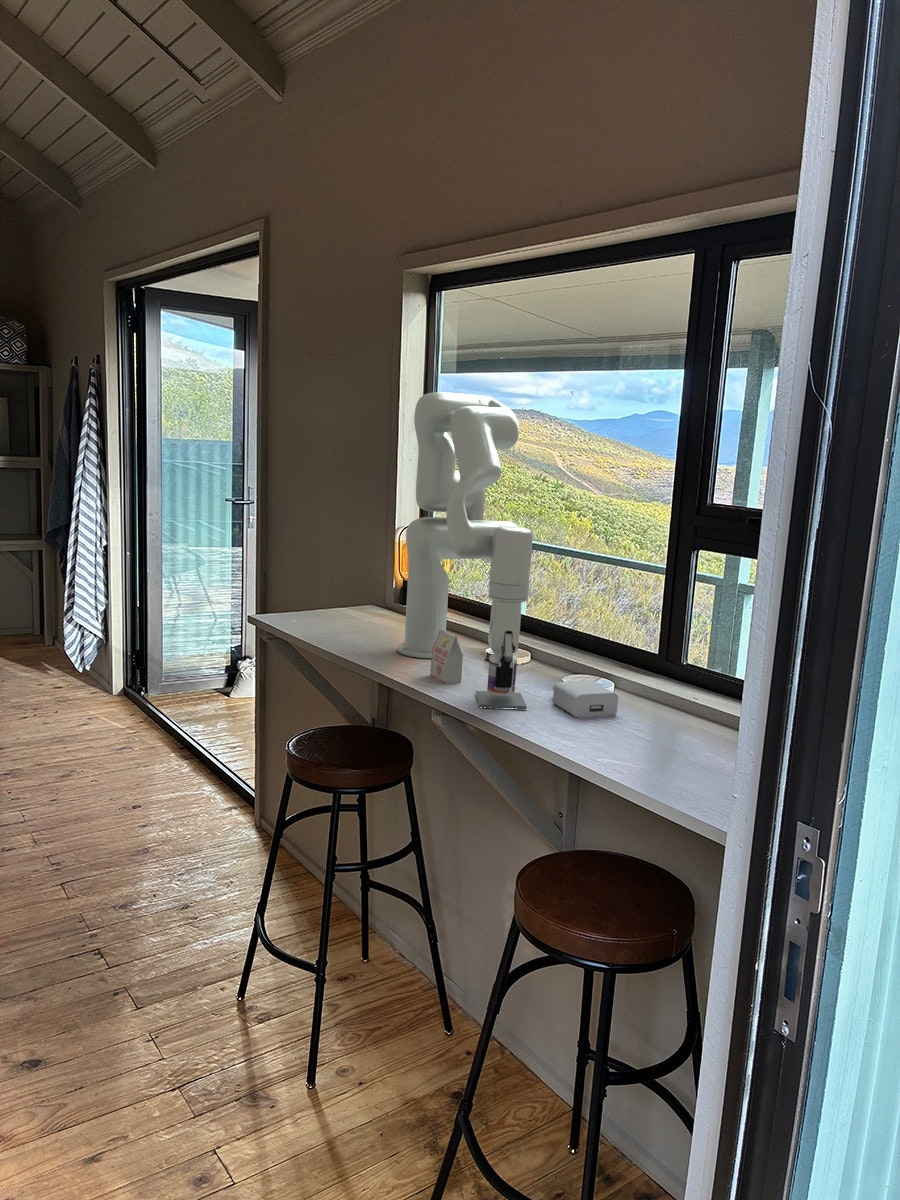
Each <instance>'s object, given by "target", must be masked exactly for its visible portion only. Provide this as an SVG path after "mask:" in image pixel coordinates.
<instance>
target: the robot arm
mask: <svg viewBox="0 0 900 1200" xmlns="http://www.w3.org/2000/svg"><path fill="white" fill-rule="evenodd" d="M414 409H415V410H414V416H413V417H414V419H413V421H414V423H413V424H414V430H415V435H416V440H417V446H418V447H417V448H418V455H417V456H418V457H417V465H416V466H417V467H416V483H415V501H416V504H417V506H418V507H419V508H420V509H422V510H423V511H427V512H434V513H446V515H445V517H436V516H435V517H432V516H431V517H430V516H426V517H419V518H416V519H413V520H412V521H411V522H410V523H409V524H408V526H407V528H406V531H405V545H406V552H407V587H406V588H407V591H406V605H405V606H406V607H405V626H404V641H403V642H402V643H399V644H398V645H397V652H399V654H401V655H402V656H403V655H404V656H407V657H412V658H420V659H431V658H432V648H433V646H434V643H435V641H436V639H437V637H438V634H439V631H440V630H441V629H442V630H444V631H446V632H447V618H448V616H447V615H448V604H449V603H448V602H449V601H448V600H449V599H448V598H449V587H450V586H449V583H450V580H449V575H448V573H447V571H446V570H445V568H444V567H443V565H442V563H441V561H442V560H465V559H466V560H491V561H490V568H489V569H490V571H489V584H488V586H489V587H488V599H490V600H491V601H492V602H491V608H490V609H491V610H490V617H489V619H490V621H489V626H488V635H487V636H488V638H487V642H488V645H489V647H490V650H491V651H492V652H493V654H494V653H495V652H496V650H498V666H496V675H495V687H500V688H511V687H512V676H513V655H514V654H515V653H517V652H518V648H519V640H520V632H521V631H520V630H521V617H522V603H525V602H528V597H529V587H530V586H529V585H530V573H531V564H532V563H531V562H532V551H533V550H532V549H533V533H532V531H531V530H530V529H528V528H526V527H523V526H519V525H518V524H517V523H515V522H512V521H506V520H484V516H485V515H484V514H485V513H484V512H485V503H486V502H485V501H486V490H485V489H488V488H489V487H491V486H493V485H494V484H495V483H497V482H498V481H499V480H500V479H501V476H502V467H501V463H500V457H499V453H498V449H500V450H502V449H503V450H507V449H511V448H512V447H514V446H515V445H516V443H517V442H518V439H519V433H520V426H519V421H518V419H517V416H516V415H515V413H514V412H513V410H512V409H510V408H509V407H508V406H506V405H505V404H503V403H501V402H500V401H498V400H496V399H495V398H493V397H490V396H487V395H481V394H480V395H479V394H468V393H467V394H466V393H465V394H464V393H456V392H443V391H441V392H440V391H439V392H438V391H436V392H428V393H425V394H423V395H422V396H421V397H420V398H419V399H418V401H417V402H416V406H415V408H414ZM449 434H451V436H450V435H449ZM456 465H457V468H458V469H457V470H456ZM513 645H514V646H513ZM501 648H505V651H501ZM502 654H503V655H504V656H502Z"/></svg>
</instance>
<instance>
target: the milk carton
mask: <svg viewBox="0 0 900 1200" xmlns="http://www.w3.org/2000/svg"><path fill="white" fill-rule="evenodd" d="M430 660H431V662H430V663H431V664H430V676H431V677H432V678H434V679H436V680H437V681H439V682H441V683H443V684H445V685H450V684H461V683H462V674H463V673H462V672H463V661H464V654H463V653H462V649H461V646H460V643H459V640H458V636H456V635H454V634H452V633H450V632H448V631H447V630H446V631H444V630H442V629H441V630H440V631H439V634H438V637H437V639H436V641H435V643H434V646H433V648H432V658H430Z"/></svg>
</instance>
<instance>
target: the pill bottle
mask: <svg viewBox="0 0 900 1200" xmlns="http://www.w3.org/2000/svg"><path fill="white" fill-rule="evenodd" d="M513 646H514V645H513ZM501 651H505V648H501ZM502 656H504V655H503V654H502ZM517 665H518V659H517V657H516V656H515V655H514V654H513V676H512V687H511V688H500V687H495V675H496V666H498V650H496V652H495V653H494V652H493V653H492V654H491V655H490V656H489V659H488V676H487V690H486V691H488V693H489V694H492V695H495V696H501V697H506V696H511V695H513V694H514V692H516V691H515V689H516V680H517V667H518V666H517Z"/></svg>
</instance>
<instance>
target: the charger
mask: <svg viewBox="0 0 900 1200" xmlns="http://www.w3.org/2000/svg"><path fill="white" fill-rule="evenodd" d="M551 689H552V690H553V695H552V704H554V703H555V704H554V705H556V706H557V705H558V707H559V708H561V709H562V710H564V711H565V710H566V711H565V712H567V713H568V712H569V713H568V714H570V715H572V716H573V717H575V718H576V717H584V718H594V717H593V716H599V717H609V716H608V715H613V716H615V715H616V714H617V712H618V705H619V695H618V694H617V693H616V692H614V691H612V690H611V689H609V688H607V687H605V686H602V685H601V684H598V683H597V682H595V681H593V680H586V679H585V680H573V681H572V680H570V681H568V680H567V681H559V682H558V681H557V682H555V683H554V684H553V685H552V686H551ZM605 715H606V716H605Z"/></svg>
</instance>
